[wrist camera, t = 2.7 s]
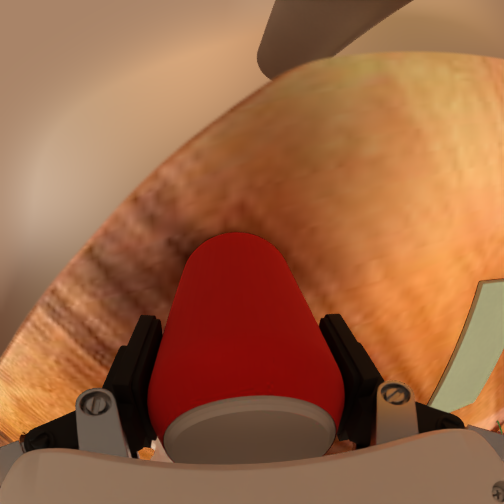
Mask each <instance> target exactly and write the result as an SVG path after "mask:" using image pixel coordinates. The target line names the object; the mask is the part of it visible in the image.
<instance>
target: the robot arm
mask: <svg viewBox="0 0 504 504" xmlns="http://www.w3.org/2000/svg"><path fill="white" fill-rule="evenodd" d="M319 328H320V331H321V333H322V335H323V337H324V339H325V341H326V343H327V345H328V347H329V349H330V351H331V353H332V355H333V357H334V359H335V361H336V363H337V365H338V368H339V370H340V372H341V375H342V379H343V383H344V391H345V401H344V409H343V413H342V417H341V420H340V424H339V427H338V431H337V436H338V439H339V441H343V440H348V439H349V440H350V441H352V442H353V448H352V451H349V452H344V453H339V454H334V455H328V456H322V457H316V458H309V459H301V460H293V461H284V462H272V463H258V464H230V465H214V464H185V463H171V462H160V461H151V460H142V459H140V457H139V454H138V451H139V450H141V449H143V447H148V448H151V443H152V440H154V441H156V440H157V435H156V433H155V431H154V429H153V427H152V424H151V421H150V418H149V414H148V406H147V394H148V387H149V383H150V379H151V375H152V371H153V368H154V364H155V361H156V357H157V354H158V350H159V347H160V343H161V340H162V336H163V334H162V327H161V321H160V319H156V317H155V316H150V315H141V316H140V318H139V320H138V323H137V325H136V327H135V329H134V332H133V334H132V336H131V338H130V341H129V343H128V345H127V346H123V345H122V346H121V347H120V348H119V350H118V353H117V355H116V357H115V359H114V362H113V364H112V366H111V368H110V371H109V373H108V375H107V378H106V380H105V382H104V385H103V387H102V388H92V389H88V390H86V391H84V392H83V393H81V394H80V395H79V396H78V398H77V400H76V405H75V406H76V410H75V411H73V412H71V413H69V414H66V415H64V416H62V417H60V418H57V419H55V420H53V421H50V422H48V423H46V424H43V425H41V426H38V427H36V428H34V429H32V430H30V431H29V432H28V433H27V434H26V436H25V439H24V442H22V443H20V442H19V440H18V441H15V442H13V443H10V444H8V445H5V446H2V447H0V504H504V435H503V434H500V433H496V432H492V431H489V430H485V429H482V428H478V427H475V426H472V425H469V424H468V425H467V427H465V426H464V423H463V422H462V420H461V419H460V418H459V417H457V416H455V415H453V414H451V413H448V412H444V411H441V410H438V409H436V408H433V407H430V406H427V405H424V404H421V403H418V402H416V401H415V397H414V393H413V390H412V389H411V388H410V387H409V386H408V385H406V384H405V383H403V382H400V381H395V380H389V381H384V380H383V378H382V376H381V375H380V373H379V372H378V370H377V368H376V367H375V365H374V363H373V362H372V360H371V359H370V357H369V355H368V354H367V352H366V351H365V349H364V348H363V346H362V345H361V344H360V343H358V342H357V340H356V339H355V337H354V335H353V334H352V332H351V331H350V329H349V328H348V326H347V324H346V323H345V321H344V320H343V318H342V317H341V315H340V314H326V315H325V317H324V318H321V320H320V324H319Z"/></svg>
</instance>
